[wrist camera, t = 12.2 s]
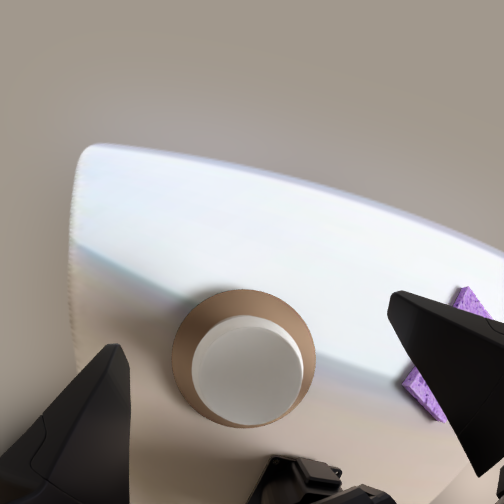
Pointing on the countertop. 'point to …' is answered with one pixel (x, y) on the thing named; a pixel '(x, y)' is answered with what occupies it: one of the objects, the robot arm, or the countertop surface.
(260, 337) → the supplement bottle
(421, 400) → the purple sponge
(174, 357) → the turntable platter
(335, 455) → the countertop surface
